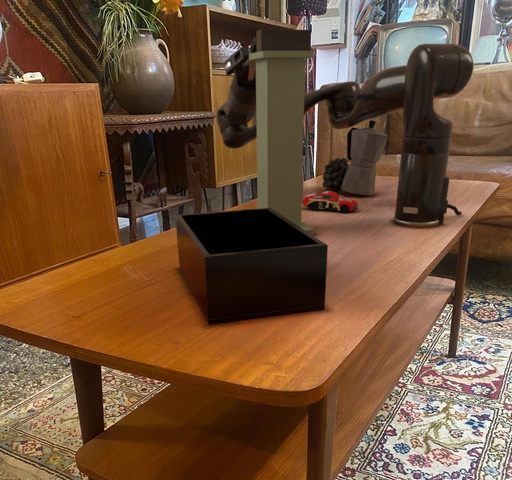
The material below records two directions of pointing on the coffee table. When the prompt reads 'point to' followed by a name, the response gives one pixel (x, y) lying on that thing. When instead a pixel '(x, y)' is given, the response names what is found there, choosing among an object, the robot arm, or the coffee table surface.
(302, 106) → the post
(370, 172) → the coffeepot
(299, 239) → the open black box
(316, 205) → the race car
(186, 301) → the coffee table surface
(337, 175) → the fruit
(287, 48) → the dark brown box
